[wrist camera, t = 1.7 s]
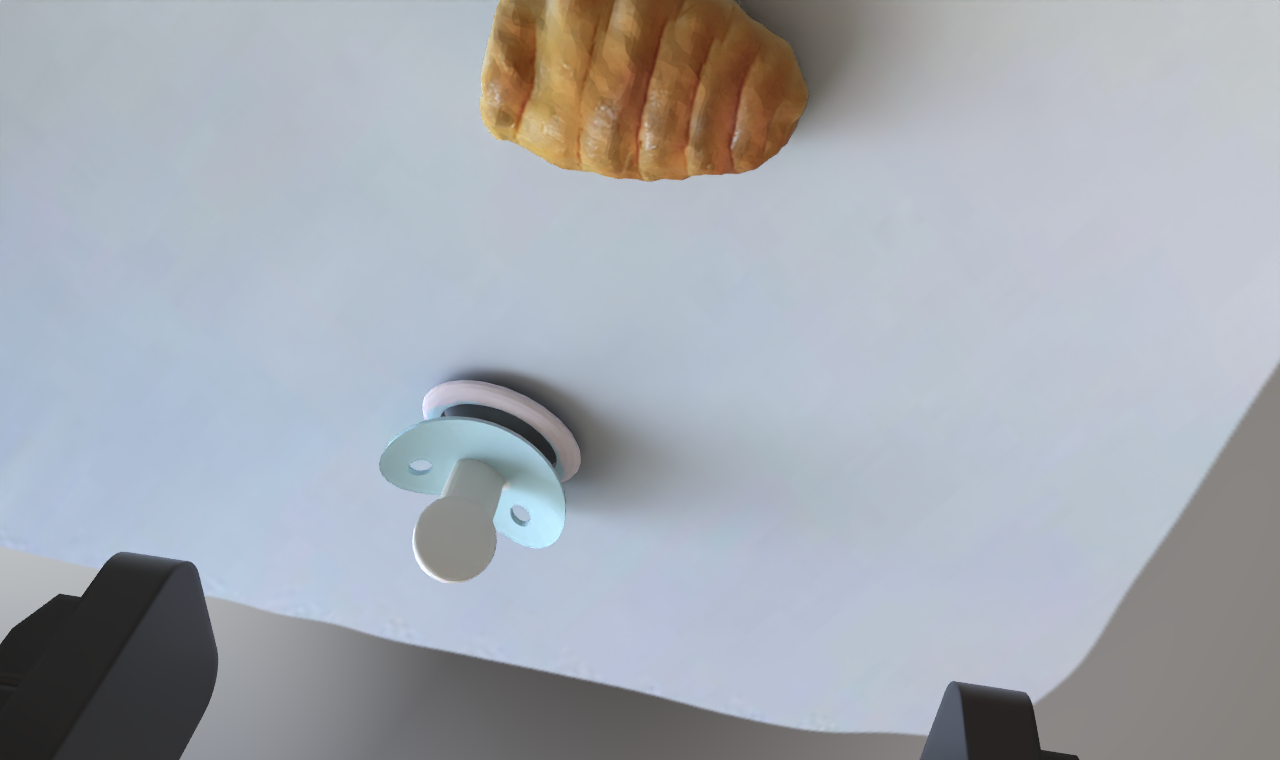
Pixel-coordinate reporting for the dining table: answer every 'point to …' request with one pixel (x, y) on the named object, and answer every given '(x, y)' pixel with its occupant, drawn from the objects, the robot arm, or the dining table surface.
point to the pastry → (640, 86)
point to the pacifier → (480, 478)
